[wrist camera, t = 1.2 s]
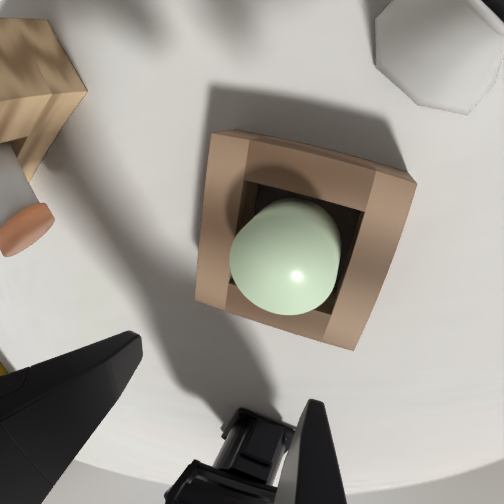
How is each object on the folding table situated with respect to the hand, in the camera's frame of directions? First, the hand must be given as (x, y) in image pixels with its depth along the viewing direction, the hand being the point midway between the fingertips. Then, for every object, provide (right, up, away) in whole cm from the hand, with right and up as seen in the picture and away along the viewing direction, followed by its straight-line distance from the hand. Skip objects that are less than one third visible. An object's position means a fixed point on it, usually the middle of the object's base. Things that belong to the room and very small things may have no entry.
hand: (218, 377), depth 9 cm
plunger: (-16, +9, +12) cm, 22 cm away
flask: (+11, +14, +4) cm, 18 cm away
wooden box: (-19, +16, +13) cm, 29 cm away
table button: (+3, +4, +9) cm, 10 cm away
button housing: (+4, +5, +10) cm, 12 cm away
